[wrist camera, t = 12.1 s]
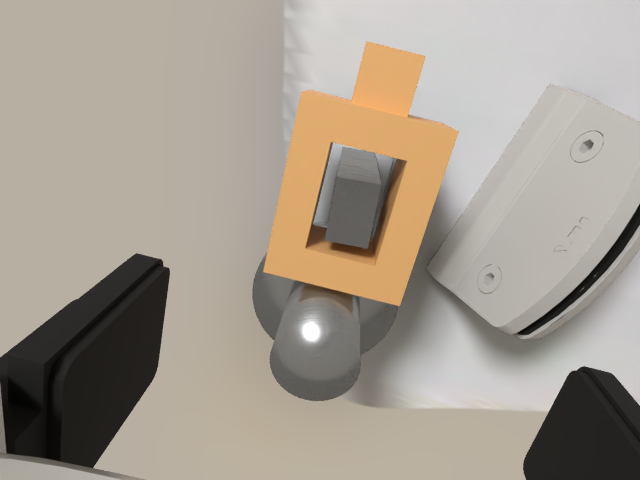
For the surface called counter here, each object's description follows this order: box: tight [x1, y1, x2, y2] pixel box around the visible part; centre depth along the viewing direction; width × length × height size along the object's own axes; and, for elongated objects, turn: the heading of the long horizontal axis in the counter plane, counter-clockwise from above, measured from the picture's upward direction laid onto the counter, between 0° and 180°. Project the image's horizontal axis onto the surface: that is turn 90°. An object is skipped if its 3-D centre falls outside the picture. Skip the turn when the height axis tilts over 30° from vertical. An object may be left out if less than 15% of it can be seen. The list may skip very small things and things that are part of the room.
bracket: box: [263, 41, 459, 306], centre depth 26 cm, size 13×8×4 cm, turn 167°
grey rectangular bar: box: [325, 147, 382, 249], centre depth 29 cm, size 4×2×11 cm, turn 171°
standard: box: [253, 143, 398, 401], centre depth 29 cm, size 18×10×14 cm, turn 167°
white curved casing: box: [426, 84, 640, 340], centre depth 31 cm, size 17×5×10 cm, turn 152°
